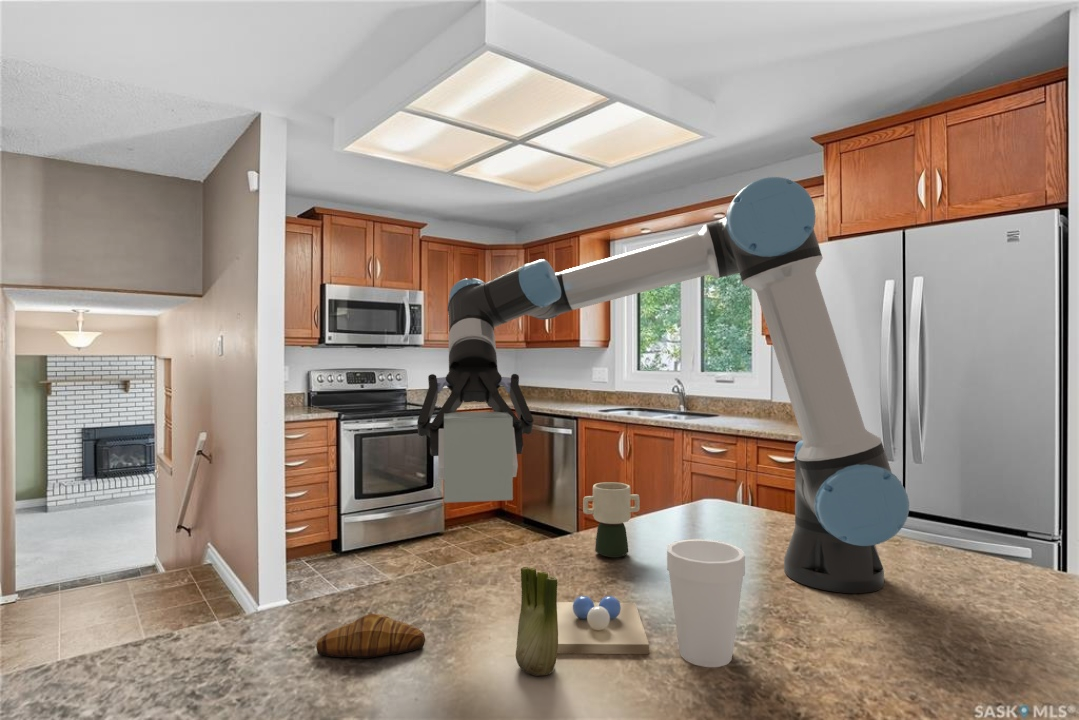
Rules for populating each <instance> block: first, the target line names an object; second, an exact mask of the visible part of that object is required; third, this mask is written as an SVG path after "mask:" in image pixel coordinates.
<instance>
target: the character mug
mask: <svg viewBox="0 0 1079 720" xmlns="http://www.w3.org/2000/svg"><path fill="white" fill-rule="evenodd" d="M631 490H632V489H631V485H630V484H626V483H622V482H616V481H615V482H611V481H610V482H609V481H608V482H607V481H606V482H605V481H604V482H599V483H595V484H593V486H592V495H586V496H584V497H583V499H582V500H583V501H582V507H583V508H582V512H583V514H586V515H592V516H593V519H594V520H595V521H596V522H599V523H598V526H597V530H596V538H595V548H594V551H595V552H596V553H597V554H598V555H601V556H604V557H609V558H621V557H624V556H626V555H627V554H628V553H629V544H628V536H627V528H626V526H625V523H626V522H629V521H630V519H631V517H632V516H631V515H632V513H636V512H637V513H638V512H639V511H640V508H641V507H640V499H641V498H640V497H641V496H640V495H639V494H634V493H633V494H631V493H632V491H631ZM632 500H634V506H632V505H631V503H632V502H631V501H632ZM589 502H592V508H589Z"/></svg>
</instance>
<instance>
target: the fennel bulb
mask: <svg viewBox="0 0 1079 720" xmlns="http://www.w3.org/2000/svg"><path fill="white" fill-rule="evenodd" d="M520 580H521V581H520V583H521V584H520V585H521V591H520V592H521V598H520V599H521V602H520V603H521V605H520V611H519V612H520V613H519V618H518V626H517V639H516V649H515V660H516V662H517V663H516V664H517V665H518V667H519V668H520V669H521V670H522V671H524V672H525V673H527V674H529V675H532V676H536V677H537V676H547V675H551V674H552V673H553V671H554V669H555V666H556V663H557V658H558V653H557V649H558V620H557V602H558V601H557V599H558V579H557V578H556V577H555V576H549V573H548V572H547V571H541V570H539V571H537V569H536V568H534V567H533V568H531V567H529V566H523V567H521V568H520Z"/></svg>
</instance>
